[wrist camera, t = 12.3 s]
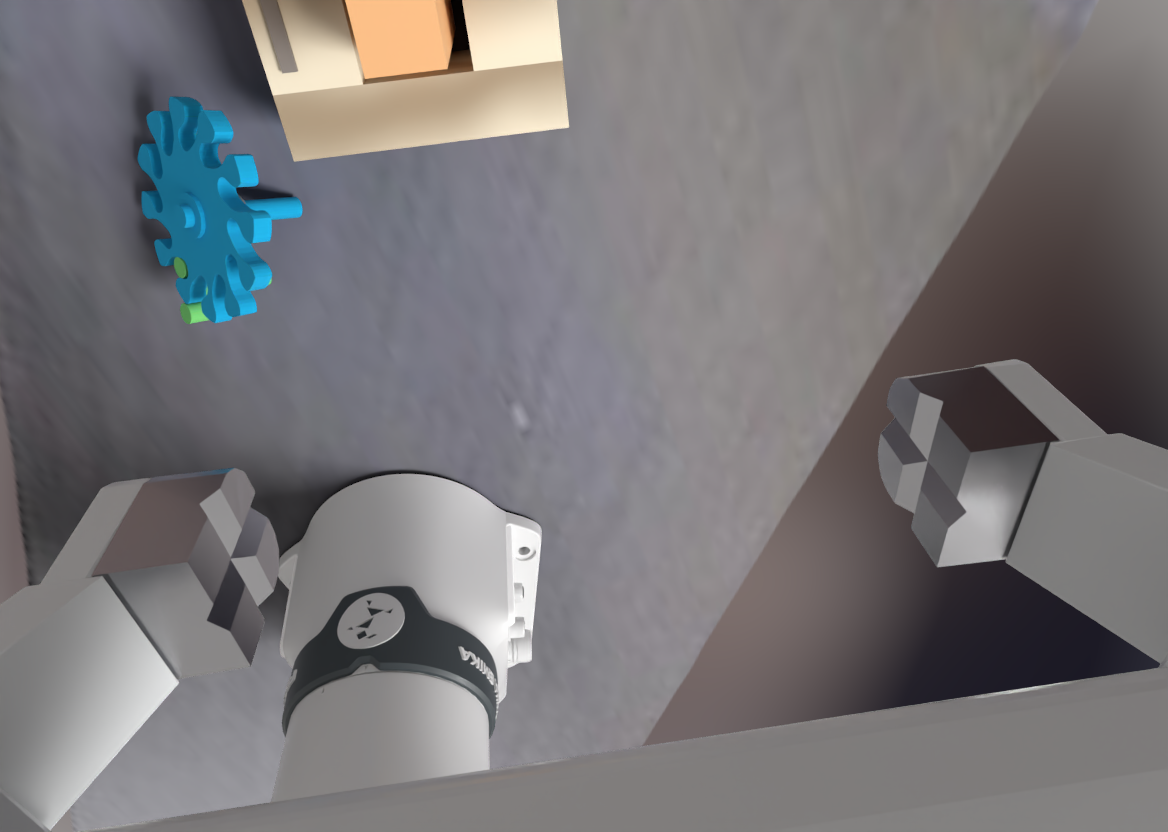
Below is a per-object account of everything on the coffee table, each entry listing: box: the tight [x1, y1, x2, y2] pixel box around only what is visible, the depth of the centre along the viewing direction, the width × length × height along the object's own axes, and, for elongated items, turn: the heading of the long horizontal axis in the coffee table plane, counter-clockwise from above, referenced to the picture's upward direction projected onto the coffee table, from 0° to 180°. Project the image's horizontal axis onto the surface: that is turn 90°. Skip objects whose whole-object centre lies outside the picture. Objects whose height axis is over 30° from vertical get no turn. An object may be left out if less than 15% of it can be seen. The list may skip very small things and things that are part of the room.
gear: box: [138, 97, 302, 324], centre depth 36 cm, size 11×6×10 cm
